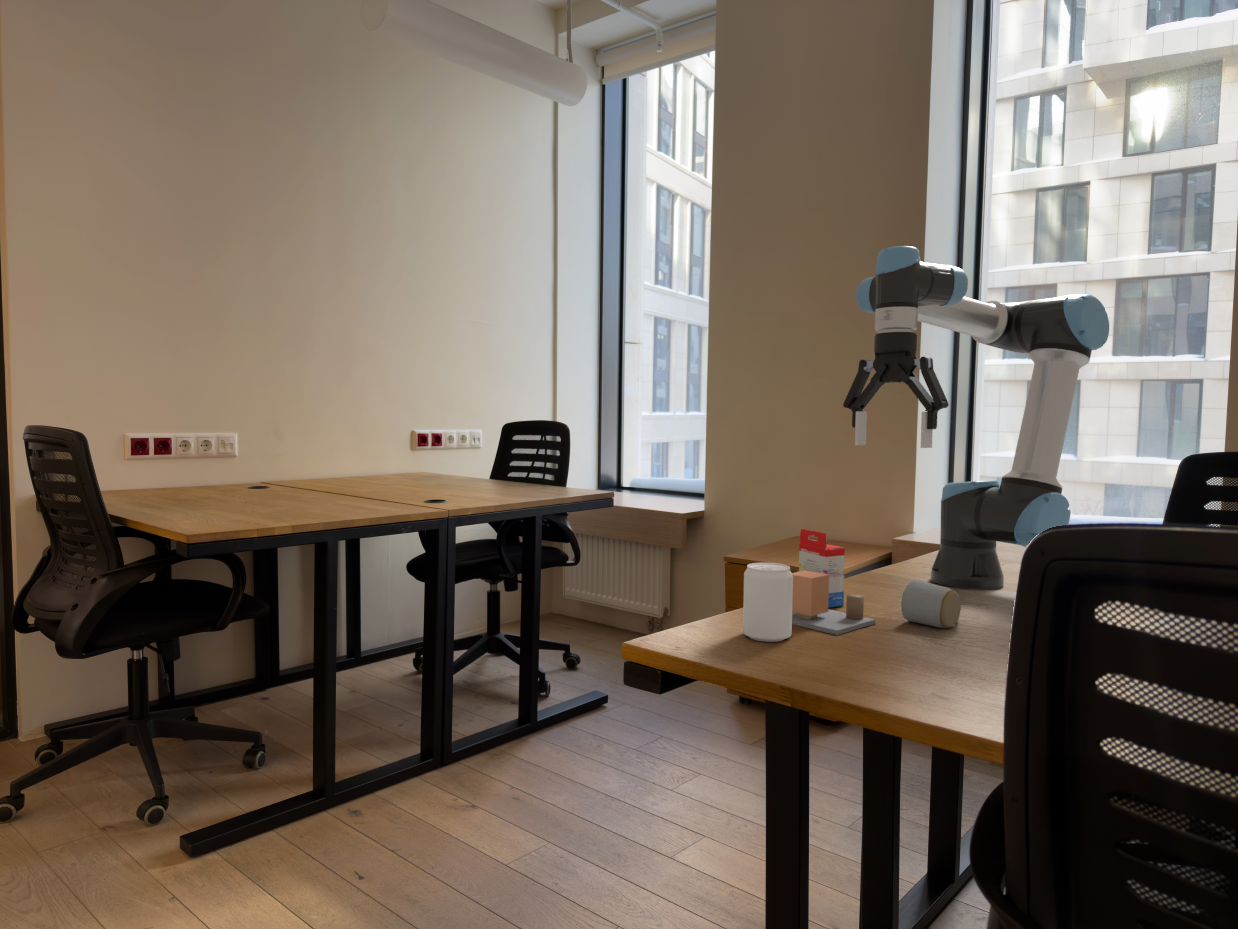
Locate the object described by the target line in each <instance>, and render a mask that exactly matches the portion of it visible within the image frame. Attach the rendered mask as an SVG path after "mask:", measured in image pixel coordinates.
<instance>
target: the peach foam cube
mask: <svg viewBox="0 0 1238 929" xmlns="http://www.w3.org/2000/svg"><path fill="white" fill-rule="evenodd" d="M791 573H792V574H793V594H792V612H795V613H799V614H803V615H808V616H814V615H818V614H822V613H826V612H828V609H829V608H828V599H829V575H827V574H822V573H816V572H811V571H800V572H799V571H796V572H791Z"/></svg>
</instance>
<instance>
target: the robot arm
mask: <svg viewBox="0 0 1238 929" xmlns="http://www.w3.org/2000/svg"><path fill="white" fill-rule="evenodd" d="M920 256H921V254H920V250H919V249H918V248H917V247H915V246H909V245H903V246H902V245H899V246H889V247H886V248H883V249H881V250H880V251H879V252H878V253H877V259H876V260H877V261H876V269H875V275H873V276H870V277H867V278H865V279H863V280H862V281H860V283H859V284H858V286H857V288H856V295H855V300H856V303H857V306H858V308H859V309H860V310H861V311H863V312H864V313H866V314H874V316H875V318H874V331H876V332H877V333H876V334H875V335H874V344H873V348H874V349H873V351H874V356H875V357H874V359H873V360H870V359H860V360H859V362H858V367H857V368H858V369H857V373H856V375H855V376H854V379H853V382H852V384H851V386H850V388H849V391H848V392H847V395H846V396H845V398H844V399H845V400H844V401H843V404H842V405H843V406H842V407H843V408H847V409H849V410H851V412H852V413H851V414H852V416H851V427H852V428H855V429H854V431H855V432H854V446H866V445H867V429H868V428H867V427H868V425H867V423H868V422H867V420H868V411H865V408H866V407H867V405H868V404H869V403H870V401H871V400H872V399H873V398H874V396H875V395H876V393H877V392H878V391H879V390H880V389H881V387H883V386H884V385H885V384H887V383H888V384H893V383H899V384H900V383H901V384H902V383H904V384H906V385H907V386H908V388H909V389H910V391H912V393H913V394H914V396H915V397H916V398H917V399H918V401H919V402H920V404H922V407H924V411H921V426H920V448H921V449H923V448H924V449H927V448H928V449H929V448H933V431H934V430H937V427H938V413H939V411H940V410H942V409H946V408H948V407H949V401H948V399H947V397H946V395H945V392H944V390H943V387H942V385H941V384H940V381H939V379H938V377H937V374H936V372H935V370H934V362H933V361H934V360H933V358H932V357H930V356H921V357H920V358H917V356H916V354H917V350H918V349H917V347H918V334H916V332H915V331H917V330H918V322H920V323H923V324H928V325H931V326H935V327H938V328H941V329H946V330H950V331H953V332H956V333H959V334H963V335H967V336H971V338H972V339H973V340H974V341H975V342H977V343H979V344H983V345H986V346H989V347H993V348H996V349H1000V350H1004V351H1010V352H1014V353H1019V354H1028V357H1029V358H1030V360H1031V361H1032V362H1033V363H1034V365H1033V369H1032V374H1031V378H1030V384H1029V389H1028V393H1027V396H1026V401H1025V402H1026V403H1025V406H1024V410H1023V417H1022V419H1021V425H1020V430H1019V435H1018V439H1017V443H1016V448H1015V451H1014V452H1015V453H1014V456H1013V457H1014V458H1013V462H1012V467H1011V470H1010V471H1009V472H1008V473H1006V474H1004V475H1003V476H1002V477H1001V480H1000V481H1001V482H1000V484H999V482H998V480H975V481H958V482H948V483H946V484H944V486H943V488H942V492H941V499H940V535H939V536H940V539H939V540H940V544H939V549H938V551H937V554H936V556H935V557H936V558H935V559H934V562H933V565H932V566H931V570H930V580H931V581H932V582H934V583H936V584H937V585H938V584H939V585H941V586H945V587H946V586H948V587H953V588H961V589H970V590H971V589H972V590H994V589H1000V588H1002V587H1004V581H1005V579H1004V578H1005V577H1004V573H1003V569H1002V567H1001V563H1000V560H999V556H998V552H997V543H998V542H999V543H1005V544H1010V545H1017V546H1021V547H1024V548H1027V547H1026V546H1027V545H1028V544H1029V543H1030V541H1031V540H1032V539H1033V538H1034V537H1035V536H1036V535H1038V534H1040V533H1042V532H1043V531H1045V530H1047V529H1049V528H1052V527H1056V526H1062V525H1068V526H1069V523H1070V521H1071V520H1070V519H1071V509H1070V508H1069V507H1070V503H1069V500H1068V499H1067V498H1066V497H1065V495H1063V494H1062V492H1063V486H1062V485H1061V484H1060V482H1059V481H1058V479H1057V475H1058V470H1059V467H1060V462H1061V458H1062V452H1063V449H1064V448H1063V447H1064V443H1065V439H1066V433H1067V429H1068V424H1069V419H1070V416H1071V415H1070V414H1071V411H1072V410H1071V409H1072V405H1073V401H1074V396H1075V393H1076V392H1075V391H1076V387H1077V382H1078V377H1079V373H1080V369H1082V367H1085V366H1086V365H1088V364H1089V363H1090V361H1091V360H1090V359H1091V355H1092V351H1097V350H1098V349H1101V348H1102V347H1104V345H1106V343H1107V341H1108V338H1109V335H1110V321H1109V319H1110V318H1109V316H1108V313H1107V311H1106V308H1105V306H1104V305H1103V303H1102V302H1101V300H1099V298H1097V297H1096V296H1094V295H1091V294H1088V293H1087V294H1086V293H1085V294H1084V293H1080V294H1073V293H1071V294H1067V295H1062V296H1055V297H1048V298H1038V299H1034V300H1031V299H1030V300H1025V301H1016V302H1001V301H997V300H990V301H989V300H988V301H986V302H984V301H980V300H978V299H974V298H971V297H967V296H965V295H966V294H967V292H968V286H969V283H968V282H969V279H968V276H967V274H966V272H965V271H964V270H963V269H962V268H960V267H958V266H954V265H950V264H940V263H932V262H924V261H921V257H920ZM916 368H918V369H919V370H920V373H921V375H922V377H923V380H924V382H925V384H926V386H927V389H926V388H925V387H924V386H923V384H922V383H921V382H920V379H919V377H918V376H917V375H916V374H915V372H914V371H915V370H916ZM873 370H875V373H874V374H873V375H872V377H871V378H870V379H869V377H870V374H871V372H872V371H873ZM868 380H870V381H869V383H868V384H867V382H868ZM866 384H867V385H866ZM865 386H866V387H865ZM864 387H865V388H864ZM927 390H928V391H929V392H928V391H927Z"/></svg>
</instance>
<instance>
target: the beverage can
mask: <svg viewBox="0 0 1238 929" xmlns="http://www.w3.org/2000/svg"><path fill="white" fill-rule="evenodd" d="M746 567H747V568H746V569H745V571H744V572H743V605H742V606H743V610H742V611H743V612H742V614H743V616H742V632H743V635H745V636H747V637H748V638H750V639H751V640H755V641H759V642H767V643H768V642H770V643H774V642H776V643H777V642H781V641H785V639H788V638H790V637H792V632H793V630H792V627H793V624H792V594H793V574H792V573H793V572H792V571H791V566H790V565H787V564H784V563H776V562H753V563H748V564H747V565H746Z"/></svg>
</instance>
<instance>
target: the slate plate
mask: <svg viewBox="0 0 1238 929" xmlns="http://www.w3.org/2000/svg"><path fill="white" fill-rule="evenodd" d="M864 602H865V597H864V595H861V594H852V593H851V594H847V595H846V602H845V603H846V607H845V610H846V611H845V612H844V611H838V610H834V609H831V608H828V612H826V613H822V614H818V617H815V618H812V619H806V618H802V617H797V613H795V612H792V626H793V625H794V626H798V627H801V628H802V627H803V628H806V629H811V630H814V631H818V632H823V633H827V634H831V635H835V636H838V635H843V634H846V633H848V632H852V631H855V630H860V629H863V628H865V627H868V626H869V627H870V626H874V625H876V619H874V618H870V617H865V616H864V611H865V610H864V604H865V603H864Z"/></svg>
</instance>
